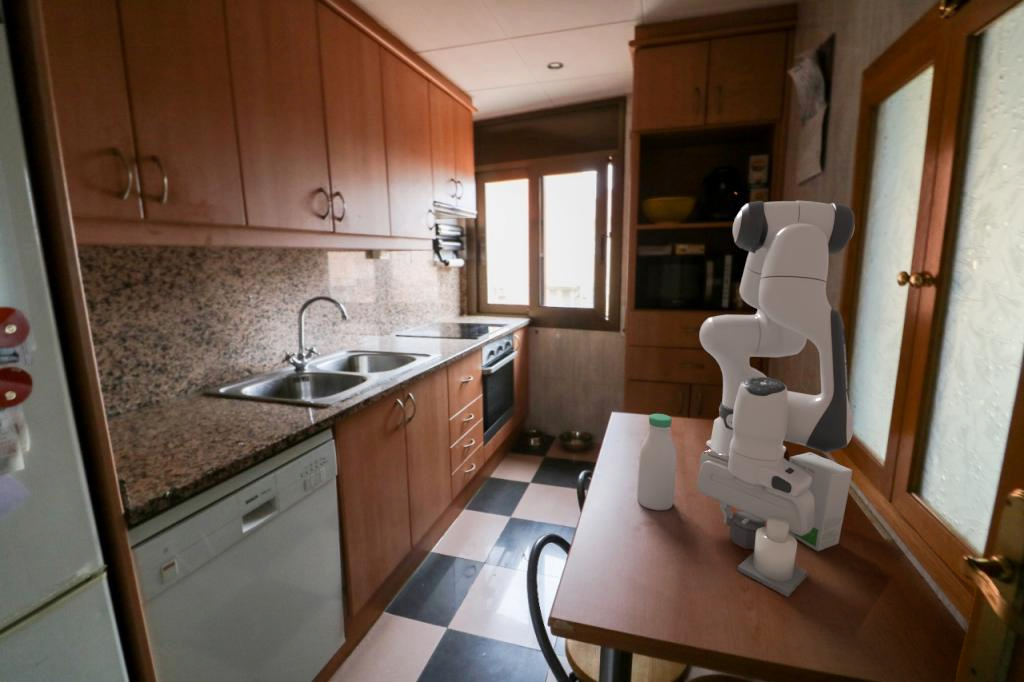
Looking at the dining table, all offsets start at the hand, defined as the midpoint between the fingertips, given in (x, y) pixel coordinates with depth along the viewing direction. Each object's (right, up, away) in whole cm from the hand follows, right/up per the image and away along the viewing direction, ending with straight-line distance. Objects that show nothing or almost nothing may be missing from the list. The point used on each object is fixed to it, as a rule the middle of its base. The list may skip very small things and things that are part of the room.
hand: (747, 532), depth 86 cm
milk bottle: (-13, +1, +14) cm, 19 cm away
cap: (0, -2, 0) cm, 2 cm away
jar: (0, -3, -9) cm, 9 cm away
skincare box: (+13, -2, +2) cm, 13 cm away
